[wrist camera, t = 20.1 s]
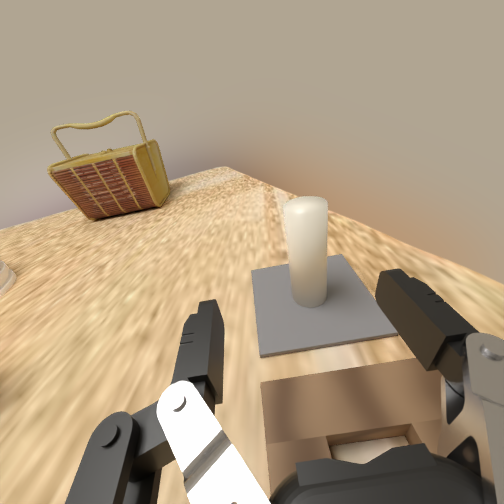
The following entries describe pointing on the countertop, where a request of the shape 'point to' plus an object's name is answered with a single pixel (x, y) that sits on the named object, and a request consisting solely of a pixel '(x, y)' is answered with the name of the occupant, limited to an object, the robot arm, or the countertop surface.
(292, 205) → the cream cylinder
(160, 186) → the picnic basket
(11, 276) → the plate stack
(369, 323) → the grey mat
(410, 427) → the walnut holder
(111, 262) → the countertop surface
